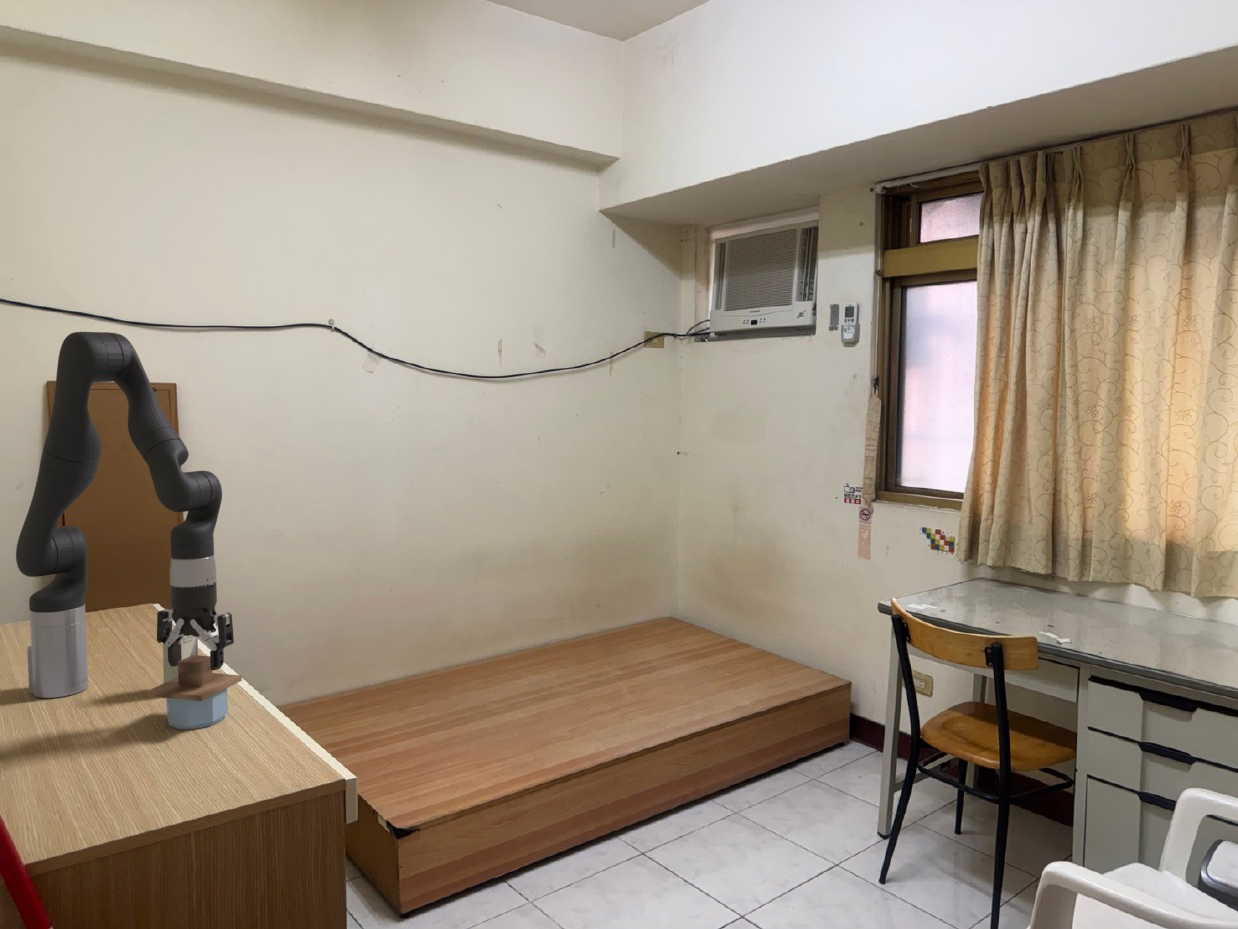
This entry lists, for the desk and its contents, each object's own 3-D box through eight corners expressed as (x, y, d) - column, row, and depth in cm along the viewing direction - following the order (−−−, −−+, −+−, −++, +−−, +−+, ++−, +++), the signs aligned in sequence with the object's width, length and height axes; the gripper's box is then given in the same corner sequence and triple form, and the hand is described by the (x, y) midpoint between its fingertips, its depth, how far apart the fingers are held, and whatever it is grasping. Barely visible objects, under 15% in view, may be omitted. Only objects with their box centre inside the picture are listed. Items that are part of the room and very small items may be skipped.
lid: (147, 696, 148) (146, 666, 148) (190, 676, 159) (190, 648, 158) (201, 701, 146) (200, 670, 146) (241, 680, 157) (240, 652, 156)
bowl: (155, 727, 149) (154, 695, 149) (193, 708, 159) (192, 677, 158) (202, 732, 147) (201, 699, 147) (237, 712, 157) (236, 681, 156)
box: (182, 695, 165) (180, 632, 164) (163, 693, 166) (160, 630, 165) (200, 686, 171) (198, 625, 170) (181, 684, 171) (179, 623, 170)
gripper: (144, 582, 149) (147, 670, 150) (213, 587, 146) (216, 677, 147) (174, 574, 156) (177, 658, 157) (241, 578, 153) (243, 663, 154)
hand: (196, 667), depth 152 cm, fingers open, 8 cm apart
